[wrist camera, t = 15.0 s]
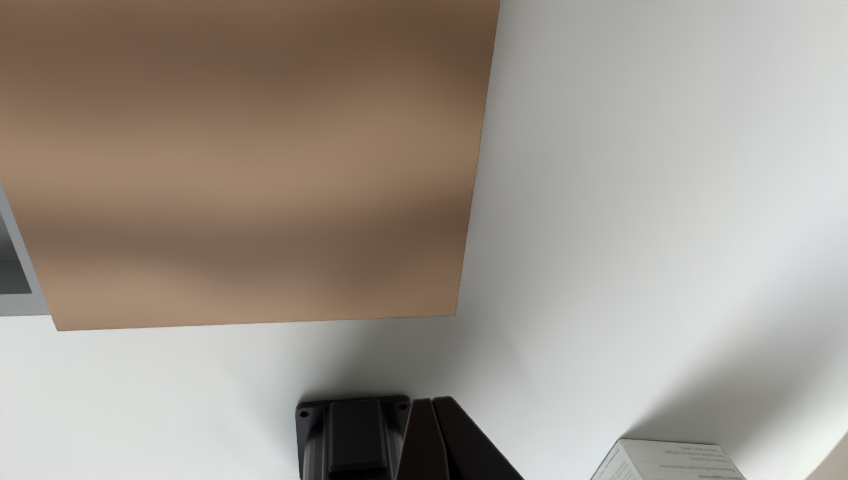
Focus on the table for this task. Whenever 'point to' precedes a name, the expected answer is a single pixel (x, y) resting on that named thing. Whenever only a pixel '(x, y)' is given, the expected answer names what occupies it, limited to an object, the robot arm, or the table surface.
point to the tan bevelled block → (243, 156)
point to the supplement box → (666, 462)
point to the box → (17, 270)
